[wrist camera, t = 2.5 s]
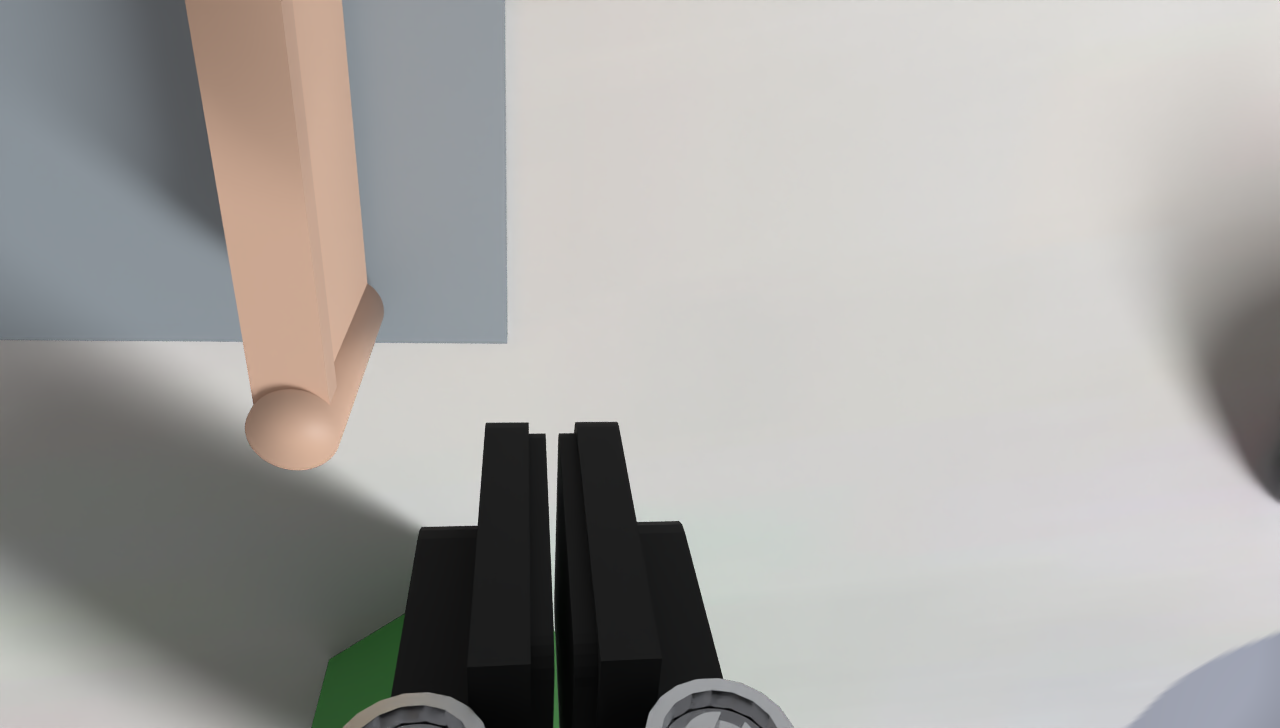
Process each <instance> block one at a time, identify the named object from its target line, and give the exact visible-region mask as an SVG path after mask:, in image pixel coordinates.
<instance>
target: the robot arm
mask: <svg viewBox="0 0 1280 728" xmlns="http://www.w3.org/2000/svg"><path fill="white" fill-rule="evenodd" d="M554 614H555V641H556V663H557V686H558V709H559V728H794V727H793V725H792V723H791V722H790V721H789V719H788V718H787V716H786V715H785V714H784V712H783V711H782V709H781V708H780V707H779V706H778V705H777V704H775V703H774V702H773V701H772V700H771V699H769V698H768V697H767V696H766V695H764V694H763V693H762V692H760V691H758V690H755V689H753V688H751V687H749V686H747V685H745V684H743V683H740V682H735V681H730V680H725V679H723V676H722V672H721V669H720V665H719V661H718V657H717V653H716V650H715V646H714V642H713V638H712V634H711V630H710V627H709V623H708V619H707V615H706V611H705V608H704V604H703V600H702V596H701V592H700V588H699V585H698V581H697V577H696V573H695V569H694V566H693V562H692V558H691V554H690V550H689V546H688V543H687V539H686V535H685V532H684V529H683V526H682V524H681V523H680V522H679V521H665V522H637V521H636V516H635V510H634V505H633V500H632V494H631V489H630V484H629V478H628V473H627V468H626V462H625V457H624V452H623V446H622V441H621V435H620V430H619V425H618V423H617V422H575V429H574V433H563V434H559V437H558V472H557V512H556V552H555V592H554ZM554 677H555V665H554V626H553V602H552V578H551V554H550V530H549V506H548V482H547V458H546V435H545V434H529V423H486V425H485V437H484V451H483V464H482V477H481V490H480V503H479V516H478V526H448V527H421V529H420V531H419V536H418V541H417V546H416V552H415V558H414V564H413V570H412V576H411V581H410V587H409V593H408V599H407V605H406V611H405V617H404V622H403V628H402V634H401V640H400V646H399V652H398V657H397V663H396V669H395V675H394V681H393V687H392V692H391V698H387V699H384V700H381V701H379V702H377V703H375V704H373V705H371V706H370V707H368V708H366V709H364V710H363V711H361V712H359V713H357V714H356V715H355V716H354V717H353V718H352V719H351V720H350V721H349V722H348V723H347V724H346V725H345V726H344V727H343V728H553V720H554Z"/></svg>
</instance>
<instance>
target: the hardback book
mask: <svg viewBox="0 0 1280 728" xmlns="http://www.w3.org/2000/svg"><path fill="white" fill-rule="evenodd" d="M404 617H405V614H403V615H402V616H400V617H398V618H397V619H395V620H393V621H392V622H390V623H388V624H387V625H385V626H383V627H382V628H380V629H379V630H377V631H375V632H374V633H372V634H370V635H369V636H367V637H365V638H364V639H362V640H361V641H359V642H357V643H356V644H354V645H352V646H351V647H349V648H347V649H346V650H344V651H343V652H341V653H339V654H338V655H336V656H334V657H333V658H331V659H329V662H328V666H327V670H326V674H325V678H324V681H323V685H322V689H321V693H320V697H319V700H318V704H317V708H316V712H315V716H314V719H313V723H312V727H311V728H343V727H344V726H345V725H346V724H347V723H348V722H349V721H350V720H351V719H352V718H353V717H354V716H355V715H356V714H357V713H359V712H361V711H363V710H364V709H366V708H368V707H370V706H371V705H373V704H375V703H377V702H379V701H381V700H384V699H387V698H391V692H392V687H393V681H394V675H395V669H396V663H397V657H398V652H399V646H400V640H401V634H402V628H403V622H404ZM554 665H555V677H554V720H553V728H559V709H558V686H557V663H556V641H555V631H554Z"/></svg>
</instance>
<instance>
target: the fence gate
mask: <svg viewBox="0 0 1280 728" xmlns="http://www.w3.org/2000/svg"><path fill="white" fill-rule="evenodd" d="M185 4H186V10H187V16H188V22H189V28H190V34H191V39H192V45H193V51H194V57H195V63H196V69H197V75H198V81H199V87H200V92H201V98H202V104H203V110H204V116H205V122H206V128H207V134H208V140H209V145H210V151H211V157H212V163H213V169H214V175H215V181H216V187H217V192H218V198H219V204H220V210H221V216H222V222H223V228H224V234H225V240H226V245H227V251H228V257H229V263H230V269H231V275H232V281H233V287H234V293H235V298H236V304H237V310H238V316H239V322H240V328H241V334H242V340H243V345H244V351H245V357H246V363H247V369H248V375H249V381H250V387H251V393H252V398H253V404H254V405H253V407H252V408H251V410H250V412H249V414H248V416H247V418H246V423H245V433H246V437H247V440H248V442H249V444H250V446H251V448H252V449H253V450H254V451H255V453H256V454H258V455H259V456H260V457H261V458H262V459H264V460H265V461H267V462H268V463H270V464H272V465H274V466H277V467H280V468H284V469H289V470H307V469H312V468H315V467H318V466H320V465H322V464H324V463H326V462H327V461H328V460H329V459H330V458H331V457H332V456H333V455H334V454H335V452H336V451H337V449H338V447H339V444H340V441H341V438H342V435H343V432H344V429H345V426H346V424H347V421H348V418H349V415H350V412H351V409H352V406H353V404H354V401H355V398H356V395H357V392H358V389H359V386H360V383H361V381H362V378H363V375H364V372H365V369H366V366H367V363H368V360H369V358H370V355H371V352H372V349H373V346H374V343H375V340H376V337H377V335H378V332H379V329H380V326H381V323H382V320H383V317H384V306H383V302H382V300H381V297H380V296H379V294H378V293H377V291H376V290H375V289H374V288H373V287H372V286H370V285H369V284H368V283H367V273H366V262H365V251H364V240H363V229H362V218H361V206H360V195H359V184H358V173H357V162H356V151H355V140H354V129H353V118H352V106H351V95H350V84H349V73H348V62H347V51H346V40H345V29H344V18H343V7H342V0H185Z"/></svg>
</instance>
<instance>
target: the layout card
mask: <svg viewBox="0 0 1280 728" xmlns="http://www.w3.org/2000/svg"><path fill="white" fill-rule="evenodd" d="M342 7H343V18H344V29H345V40H346V51H347V62H348V73H349V84H350V95H351V106H352V118H353V129H354V140H355V151H356V162H357V173H358V184H359V195H360V206H361V218H362V229H363V240H364V251H365V262H366V273H367V283H368V284H369V285H370V286H372V287H373V288H374V289H375V290H376V291H377V293H378V294H379V296H380V297H381V300H382V302H383V306H384V317H383V320H382V323H381V326H380V329H379V332H378V335H377V337H376V340H375V343H488V344H507V241H506V102H505V0H342ZM0 340H83V341H218V342H243V340H242V334H241V328H240V322H239V316H238V310H237V304H236V298H235V293H234V287H233V281H232V275H231V269H230V263H229V257H228V251H227V245H226V240H225V234H224V228H223V222H222V216H221V210H220V204H219V198H218V192H217V187H216V181H215V175H214V169H213V163H212V157H211V151H210V145H209V140H208V134H207V128H206V122H205V116H204V110H203V104H202V98H201V92H200V87H199V81H198V75H197V69H196V63H195V57H194V51H193V45H192V39H191V34H190V28H189V22H188V16H187V10H186V4H185V0H0Z"/></svg>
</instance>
